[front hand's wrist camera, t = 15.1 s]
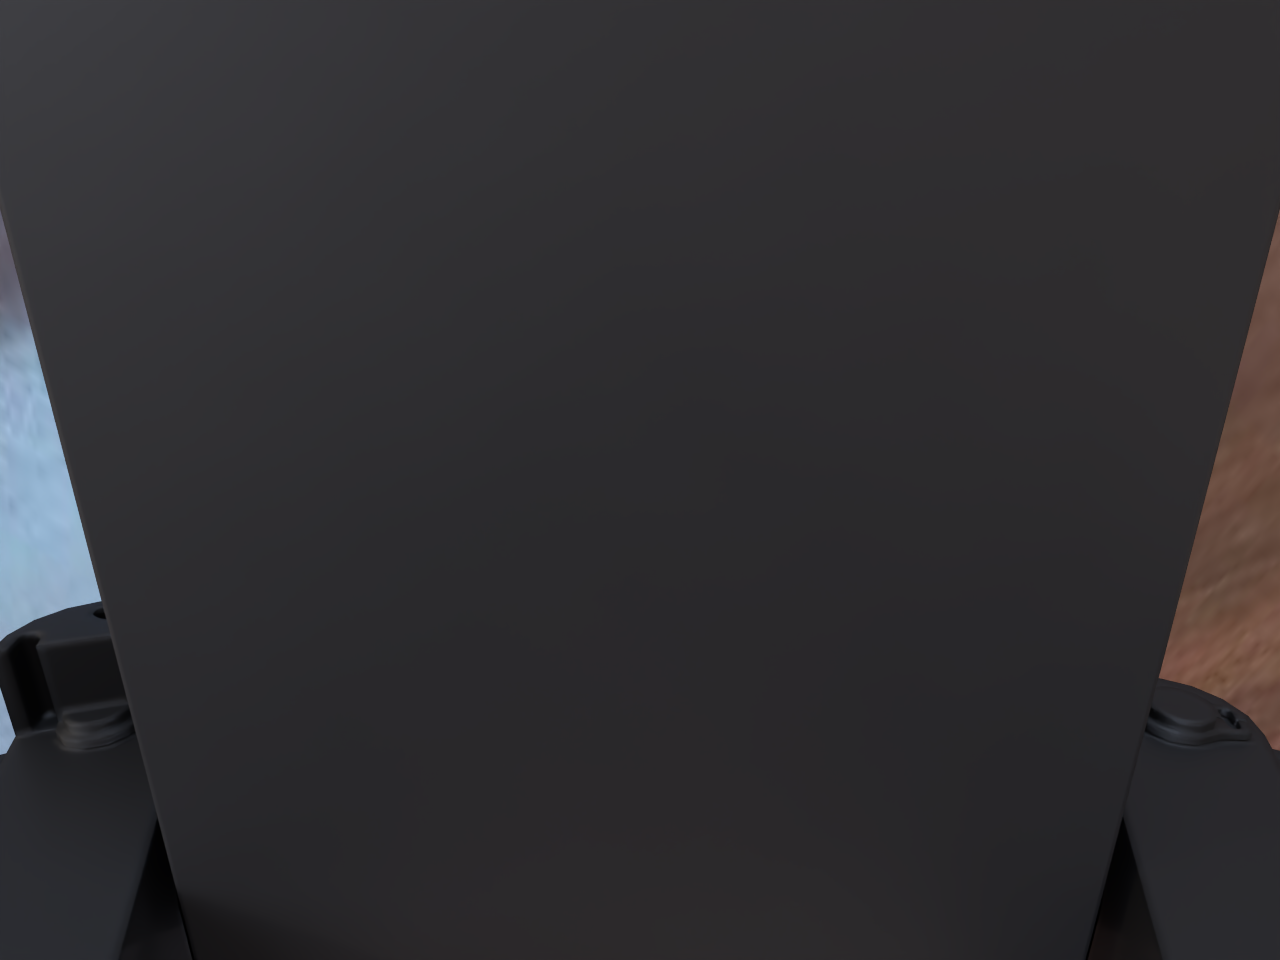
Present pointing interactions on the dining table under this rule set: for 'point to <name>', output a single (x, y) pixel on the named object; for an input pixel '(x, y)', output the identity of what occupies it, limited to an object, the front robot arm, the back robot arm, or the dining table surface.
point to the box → (640, 449)
